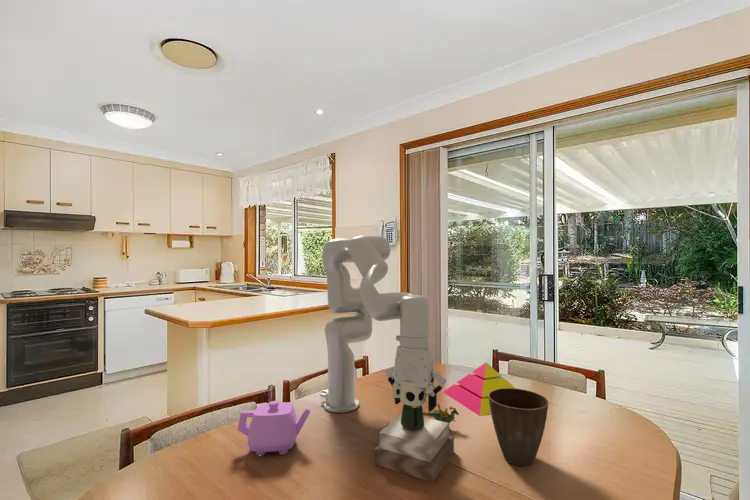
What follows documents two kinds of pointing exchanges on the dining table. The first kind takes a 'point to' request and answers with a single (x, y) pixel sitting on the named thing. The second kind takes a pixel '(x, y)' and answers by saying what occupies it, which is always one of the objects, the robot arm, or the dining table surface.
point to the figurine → (442, 414)
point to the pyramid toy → (478, 389)
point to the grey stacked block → (415, 448)
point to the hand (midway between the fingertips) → (414, 405)
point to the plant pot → (518, 423)
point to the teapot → (272, 427)
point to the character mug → (411, 404)
